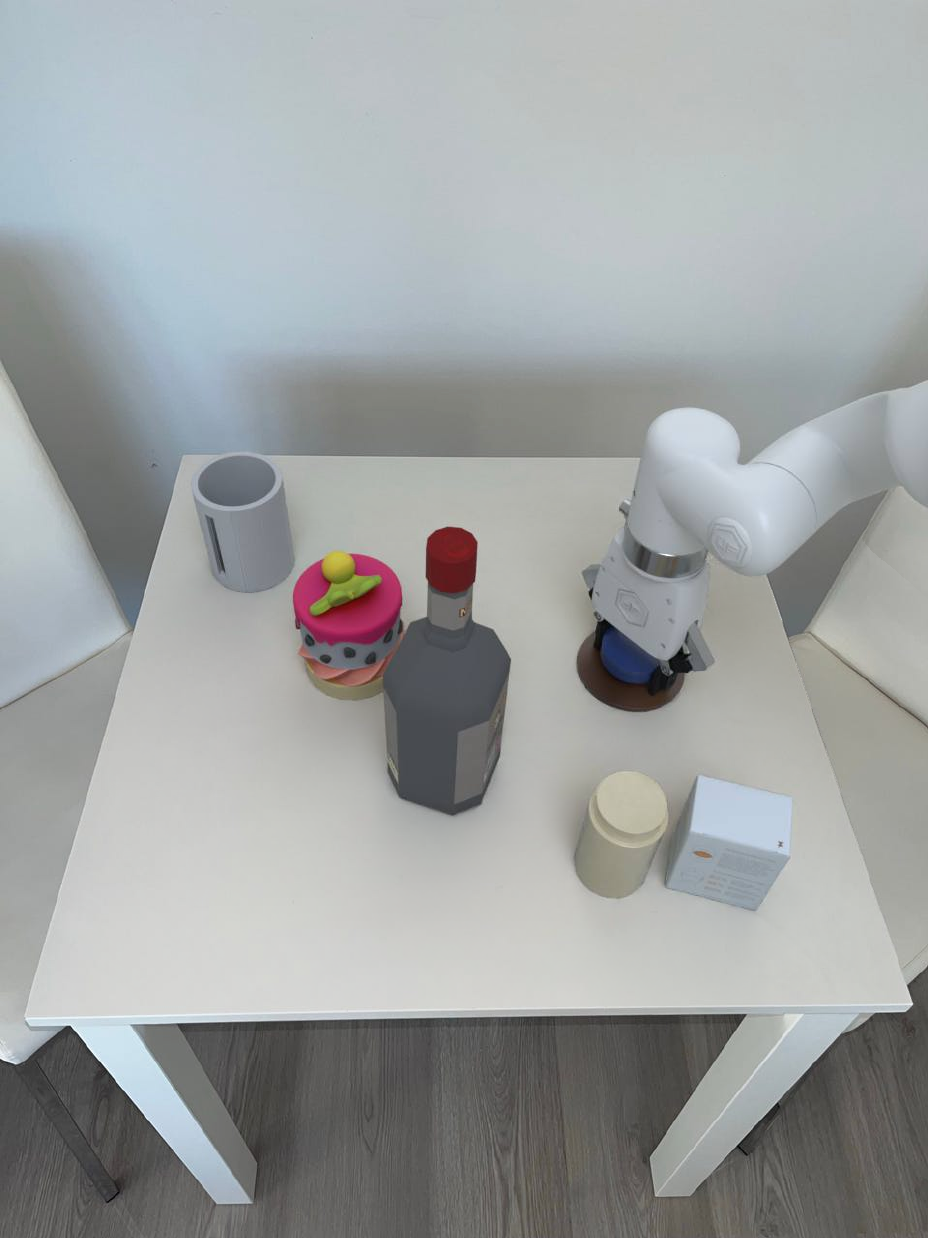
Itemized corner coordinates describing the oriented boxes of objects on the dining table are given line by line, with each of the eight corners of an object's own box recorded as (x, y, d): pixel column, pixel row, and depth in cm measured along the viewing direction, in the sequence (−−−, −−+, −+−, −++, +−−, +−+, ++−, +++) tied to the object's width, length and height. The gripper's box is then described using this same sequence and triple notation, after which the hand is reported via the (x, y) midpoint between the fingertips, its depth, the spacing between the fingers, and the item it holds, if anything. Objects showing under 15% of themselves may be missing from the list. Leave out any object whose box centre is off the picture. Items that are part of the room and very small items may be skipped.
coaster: (691, 643, 99) (693, 640, 98) (672, 725, 92) (674, 721, 92) (590, 616, 101) (591, 612, 100) (565, 694, 94) (565, 690, 94)
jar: (652, 843, 84) (678, 779, 75) (639, 908, 80) (665, 848, 71) (583, 822, 85) (600, 757, 76) (566, 885, 81) (583, 824, 72)
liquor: (505, 746, 90) (533, 519, 67) (473, 827, 84) (493, 609, 61) (416, 718, 92) (415, 487, 69) (379, 795, 86) (365, 571, 63)
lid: (585, 653, 95) (587, 642, 94) (631, 618, 98) (633, 606, 97) (637, 695, 92) (640, 685, 90) (683, 658, 95) (686, 647, 93)
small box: (760, 855, 83) (796, 796, 75) (756, 913, 80) (793, 858, 72) (671, 832, 84) (697, 771, 76) (662, 888, 81) (689, 830, 73)
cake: (281, 657, 96) (262, 555, 84) (362, 606, 101) (354, 503, 89) (344, 721, 91) (332, 622, 80) (426, 665, 96) (426, 564, 84)
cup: (302, 537, 107) (291, 455, 98) (283, 596, 101) (270, 515, 92) (224, 529, 107) (205, 447, 98) (201, 587, 102) (179, 506, 92)
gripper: (566, 506, 85) (546, 632, 98) (716, 619, 76) (673, 739, 90) (622, 472, 88) (595, 598, 102) (772, 576, 80) (722, 698, 93)
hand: (632, 663), depth 96 cm, fingers closed on lid, 6 cm apart
